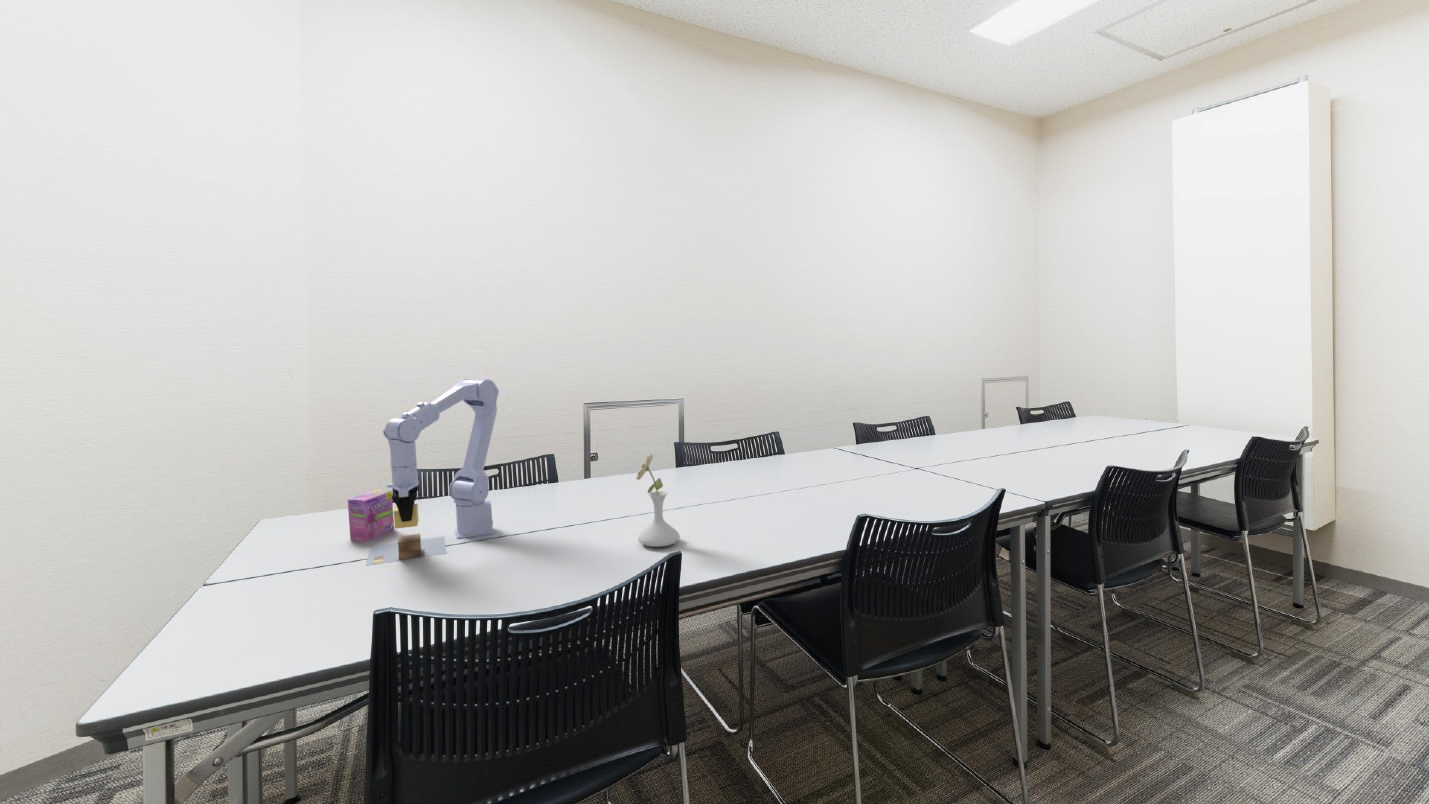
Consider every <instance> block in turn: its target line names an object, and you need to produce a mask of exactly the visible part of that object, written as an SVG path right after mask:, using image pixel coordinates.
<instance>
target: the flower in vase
mask: <svg viewBox="0 0 1429 804" xmlns="http://www.w3.org/2000/svg"><path fill="white" fill-rule="evenodd" d="M653 457H654V455H653V454H652V453H651V454H649V455H648V456H647V458H646V460H645V463H642V465H641V469H640V470H639V471H638V472H637V474H636V477H635V479H636V480H637V481H640V480H641V479H642V477H643V476H644V475H645V473H646V472H648V473H649V474H650V476H651V478H652V480H653V483H652V484H651V485H650V486H649V488H648V490H647V492H646V493H647V494H648V496H649V497H650V498H651V501H652V503H653V519H652V521H651V522H650V523H649V524H648V525H646V527H644V528H643V529H642V530H641V531H639V534H638V535H637V538H636V539H637V540H638V542H639V543H640V544H642V545H644V546H647V547H652V548H653V547H655V548H659V547H660V548H661V547H667V546H671V545H673V544H675V543H677V542H678V541H679V540H680V538H681V536H680V533H679V532H678V531H677V530H676V529H675V528H674V527H672V525H670V524H669V523H668V522H666V521H665V520H664V516H663V507H664V506H663V505H664V501H665V498H666V496H667V495H668V492H666V491H663V490H660V489H661V488H664V487H663V486H664V484H663V481H662V480H661V478H660V477H658V479H656V480H655V478H654V475H653V472H652V471H651V470H650V464H651V462H652V461H653ZM654 489H655V490H654ZM653 490H654V491H653Z"/></svg>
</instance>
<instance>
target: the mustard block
mask: <svg viewBox="0 0 1429 804" xmlns="http://www.w3.org/2000/svg"><path fill="white" fill-rule="evenodd" d="M393 519H394V530H396V529H405V528H412V527H417V526H418V525H419V506H418V503H414V505H413V514H412V520H411V521H406V522H402V520H401V518H400V514H399V511H398V508H397V505H395V507H394V508H393Z"/></svg>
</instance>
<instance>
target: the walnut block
mask: <svg viewBox="0 0 1429 804" xmlns="http://www.w3.org/2000/svg"><path fill="white" fill-rule="evenodd" d="M397 537H398V538H397V543H398V550H399V560H401V559H408V558H414V557H421V533H413V534H406V535H401V536H397ZM421 558H422V557H421ZM408 560H409V559H408Z"/></svg>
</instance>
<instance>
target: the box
mask: <svg viewBox="0 0 1429 804" xmlns="http://www.w3.org/2000/svg"><path fill="white" fill-rule="evenodd" d="M392 494H393V491H392V490H387V489H386V490H385V489H375V490H371V491H369V492H366V493H363V494H360V495H357V496H354V497H350V498H349V499H347V509H348V520H349V521H348V522H349V524H348V525H349V538H350V541H359V542H360V541H361V542H369V541H371V540H374V539H376V538H378V537H380V536H383V535H385V534H387V533H389V532H392V531H393V530H395V524H394V504H393V499H392Z"/></svg>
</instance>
